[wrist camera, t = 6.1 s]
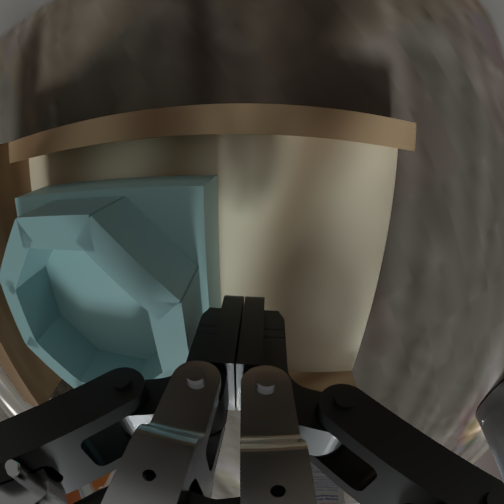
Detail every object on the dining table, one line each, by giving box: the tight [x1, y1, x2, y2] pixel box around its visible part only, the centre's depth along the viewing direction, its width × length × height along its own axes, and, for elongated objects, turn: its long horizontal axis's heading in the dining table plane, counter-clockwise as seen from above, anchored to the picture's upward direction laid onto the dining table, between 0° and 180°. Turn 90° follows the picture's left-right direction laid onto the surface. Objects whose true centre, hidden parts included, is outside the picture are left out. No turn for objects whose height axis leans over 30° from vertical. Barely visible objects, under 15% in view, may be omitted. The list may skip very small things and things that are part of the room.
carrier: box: [0, 175, 221, 388], centre depth 12 cm, size 10×10×5 cm
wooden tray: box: [0, 103, 416, 407], centre depth 12 cm, size 22×16×7 cm
